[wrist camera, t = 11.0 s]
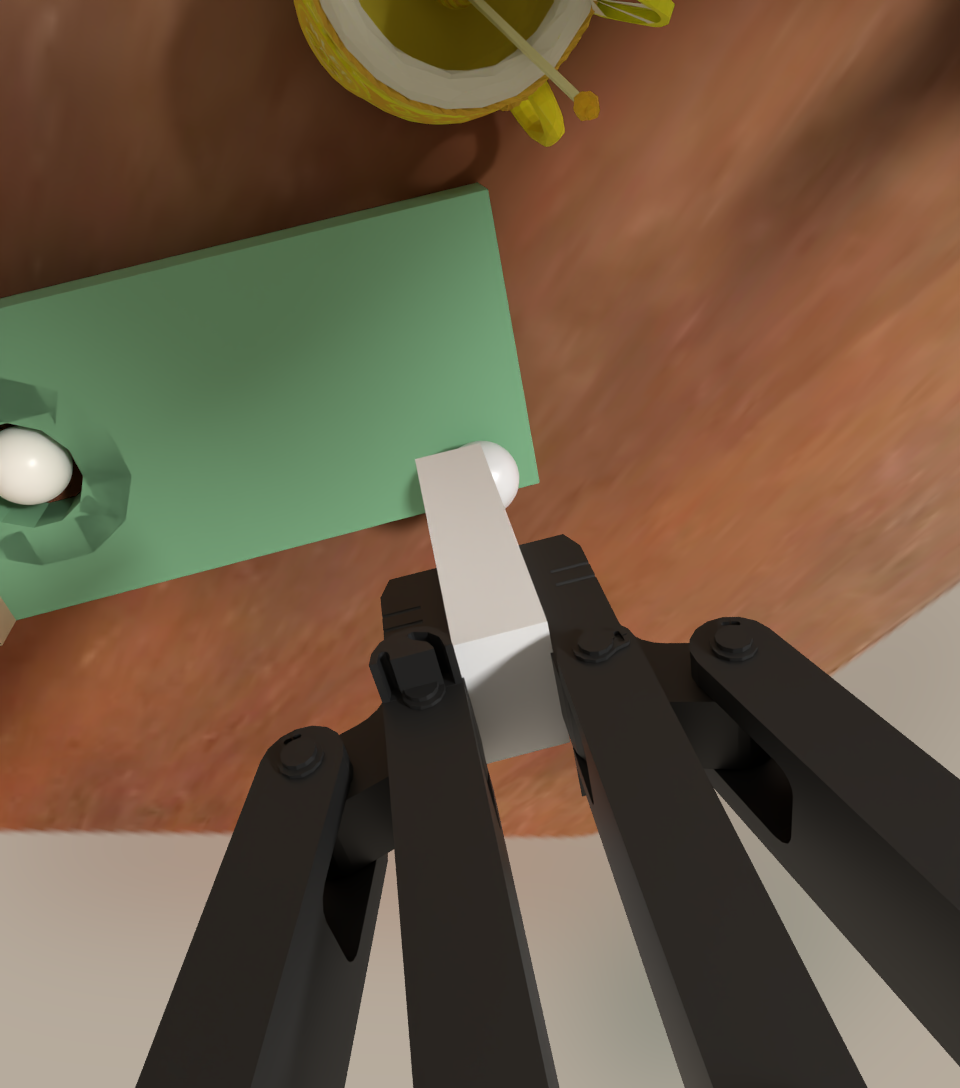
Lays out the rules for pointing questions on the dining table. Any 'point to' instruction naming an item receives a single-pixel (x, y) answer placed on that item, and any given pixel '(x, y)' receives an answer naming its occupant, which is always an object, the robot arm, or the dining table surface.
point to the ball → (32, 466)
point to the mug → (463, 54)
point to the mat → (255, 395)
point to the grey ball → (501, 469)
